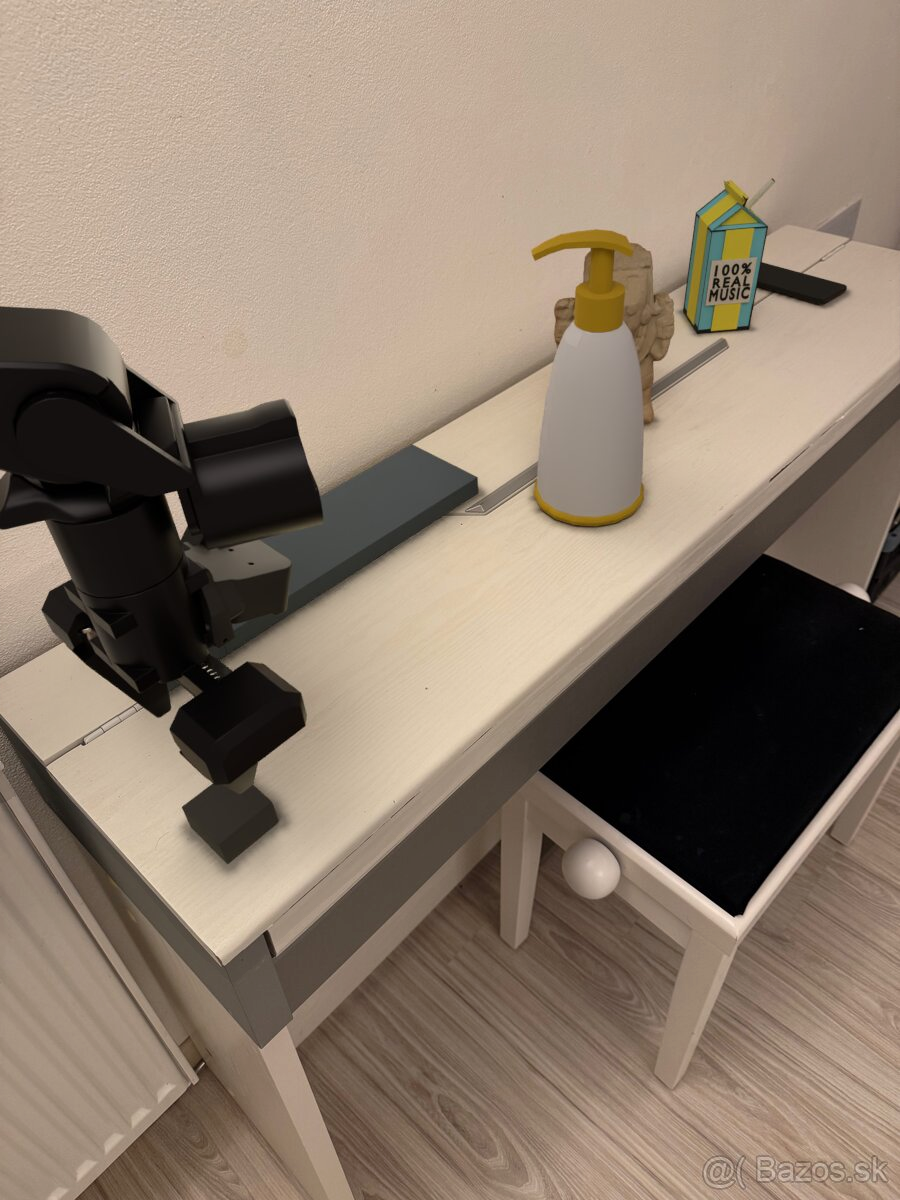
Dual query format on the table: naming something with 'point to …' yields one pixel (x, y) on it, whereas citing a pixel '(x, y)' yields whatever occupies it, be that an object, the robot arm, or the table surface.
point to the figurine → (633, 314)
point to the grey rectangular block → (361, 527)
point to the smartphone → (798, 284)
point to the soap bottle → (592, 398)
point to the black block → (230, 818)
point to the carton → (725, 262)
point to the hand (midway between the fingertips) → (202, 748)
